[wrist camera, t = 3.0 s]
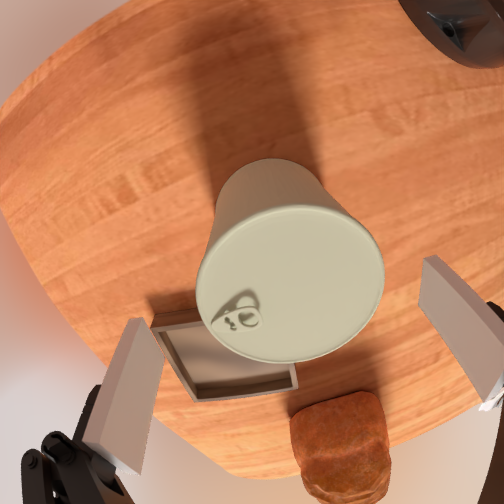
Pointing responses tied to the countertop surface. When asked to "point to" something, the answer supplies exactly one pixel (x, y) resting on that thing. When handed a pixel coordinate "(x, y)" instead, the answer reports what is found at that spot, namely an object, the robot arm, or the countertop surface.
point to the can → (286, 267)
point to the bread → (343, 449)
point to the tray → (215, 361)
